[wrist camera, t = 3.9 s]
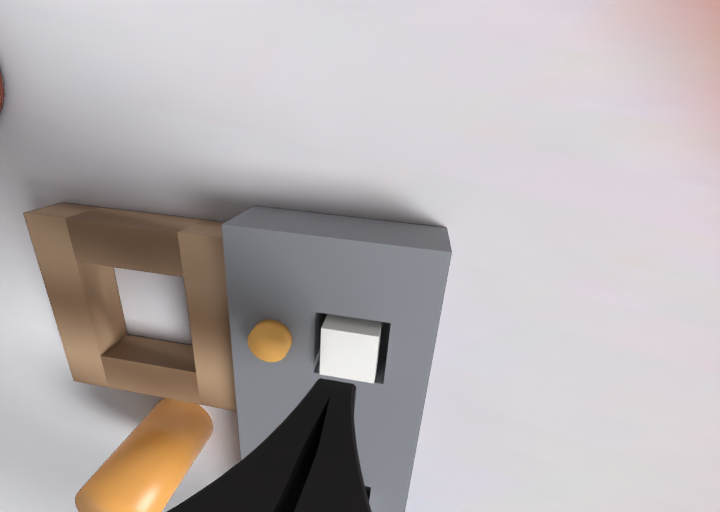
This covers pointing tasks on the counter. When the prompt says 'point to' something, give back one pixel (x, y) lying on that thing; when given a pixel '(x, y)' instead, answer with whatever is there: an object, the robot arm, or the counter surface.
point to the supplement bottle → (1, 92)
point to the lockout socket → (103, 306)
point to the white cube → (350, 348)
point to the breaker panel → (344, 298)
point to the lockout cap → (149, 461)
